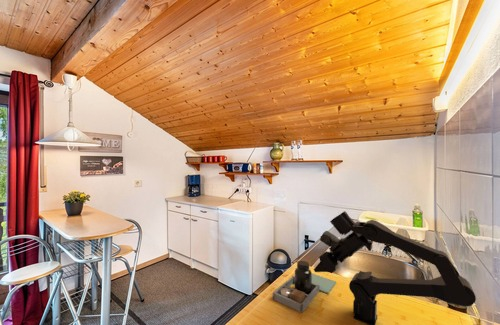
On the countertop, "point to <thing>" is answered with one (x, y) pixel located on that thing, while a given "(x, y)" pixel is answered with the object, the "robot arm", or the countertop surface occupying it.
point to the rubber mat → (323, 283)
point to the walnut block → (298, 296)
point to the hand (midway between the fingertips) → (319, 266)
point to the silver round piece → (286, 292)
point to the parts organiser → (292, 303)
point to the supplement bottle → (303, 277)
